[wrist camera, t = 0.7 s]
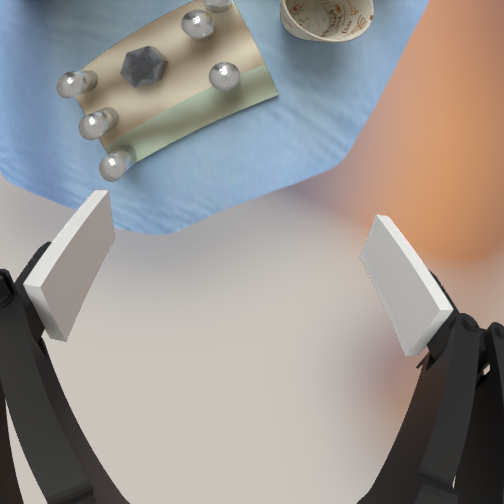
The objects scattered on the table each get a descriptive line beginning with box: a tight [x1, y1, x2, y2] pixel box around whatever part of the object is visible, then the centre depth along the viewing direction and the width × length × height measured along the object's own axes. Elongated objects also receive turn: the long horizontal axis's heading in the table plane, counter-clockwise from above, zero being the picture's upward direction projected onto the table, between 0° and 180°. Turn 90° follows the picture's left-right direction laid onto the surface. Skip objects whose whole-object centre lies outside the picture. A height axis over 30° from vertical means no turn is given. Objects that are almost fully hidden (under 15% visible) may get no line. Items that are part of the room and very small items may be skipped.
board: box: [75, 0, 279, 164], centre depth 28 cm, size 15×22×1 cm
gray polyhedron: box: [120, 46, 168, 88], centre depth 26 cm, size 5×4×2 cm
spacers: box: [57, 0, 240, 182], centre depth 26 cm, size 15×22×5 cm
